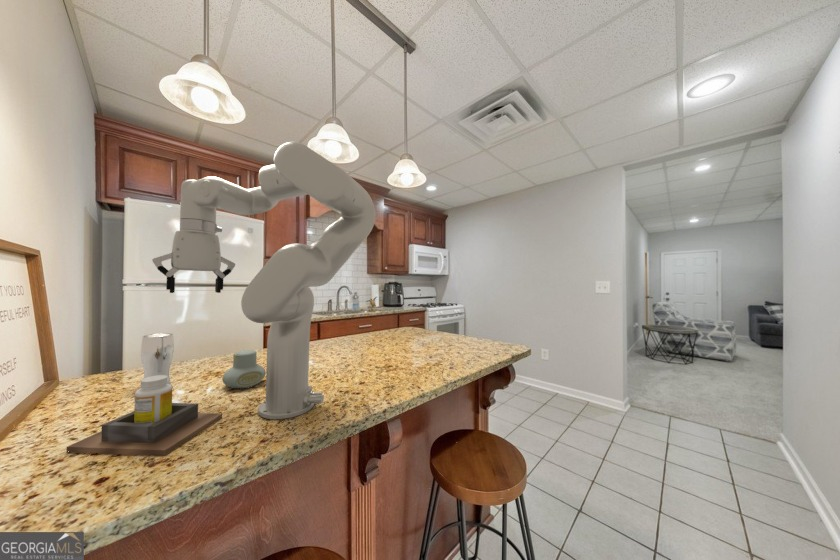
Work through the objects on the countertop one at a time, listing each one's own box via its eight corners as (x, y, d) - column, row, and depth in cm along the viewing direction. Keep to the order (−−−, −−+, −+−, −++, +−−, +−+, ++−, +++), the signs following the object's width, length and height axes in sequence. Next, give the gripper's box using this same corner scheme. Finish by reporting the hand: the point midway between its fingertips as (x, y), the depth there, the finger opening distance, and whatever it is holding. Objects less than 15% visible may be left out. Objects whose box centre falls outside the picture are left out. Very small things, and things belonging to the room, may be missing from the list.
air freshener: (258, 377, 91) (259, 346, 91) (269, 384, 86) (270, 351, 86) (218, 387, 82) (219, 352, 83) (227, 394, 77) (228, 358, 77)
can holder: (222, 418, 64) (222, 400, 64) (164, 455, 50) (165, 433, 50) (144, 415, 64) (145, 398, 64) (66, 452, 50) (67, 430, 50)
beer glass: (176, 385, 83) (177, 334, 83) (144, 393, 77) (145, 338, 77) (167, 380, 86) (169, 332, 87) (136, 387, 81) (138, 335, 81)
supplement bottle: (169, 419, 61) (170, 371, 61) (173, 428, 57) (174, 377, 57) (132, 428, 57) (134, 378, 57) (134, 439, 53) (136, 385, 53)
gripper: (232, 234, 84) (230, 291, 84) (152, 225, 71) (150, 292, 71) (239, 231, 79) (237, 293, 78) (154, 221, 66) (151, 293, 66)
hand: (195, 292), depth 75 cm, fingers open, 9 cm apart
